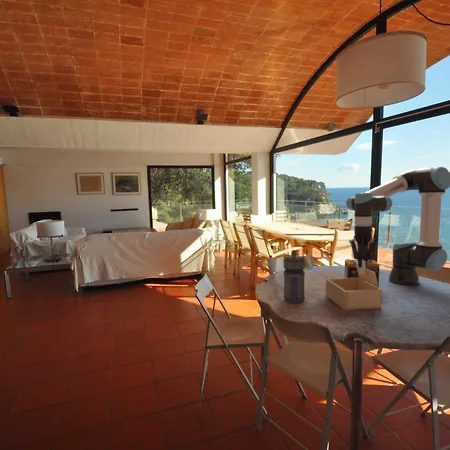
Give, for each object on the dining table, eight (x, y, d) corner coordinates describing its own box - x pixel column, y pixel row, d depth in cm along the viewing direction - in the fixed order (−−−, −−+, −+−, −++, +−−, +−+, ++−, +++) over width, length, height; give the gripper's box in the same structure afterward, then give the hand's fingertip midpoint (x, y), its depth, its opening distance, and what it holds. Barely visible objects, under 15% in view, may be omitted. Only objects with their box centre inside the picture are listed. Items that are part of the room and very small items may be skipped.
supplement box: (379, 293, 156) (379, 264, 154) (347, 292, 159) (348, 263, 157) (373, 287, 166) (374, 259, 164) (344, 286, 169) (344, 259, 167)
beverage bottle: (304, 295, 156) (304, 248, 153) (305, 304, 143) (305, 253, 141) (284, 294, 158) (283, 248, 156) (283, 303, 145) (283, 253, 143)
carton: (357, 293, 156) (357, 277, 155) (381, 308, 136) (382, 289, 135) (325, 295, 155) (325, 278, 154) (345, 311, 134) (345, 291, 133)
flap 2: (359, 276, 153) (356, 264, 152) (378, 285, 137) (375, 272, 136) (358, 277, 153) (355, 265, 152) (377, 286, 137) (374, 272, 136)
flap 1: (327, 278, 151) (317, 271, 150) (343, 288, 136) (331, 280, 135) (327, 279, 151) (317, 272, 150) (342, 289, 136) (331, 281, 135)
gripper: (371, 223, 146) (370, 271, 149) (346, 225, 145) (345, 272, 147) (380, 225, 139) (379, 275, 141) (354, 226, 138) (353, 276, 140)
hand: (362, 273), depth 144 cm, fingers closed
